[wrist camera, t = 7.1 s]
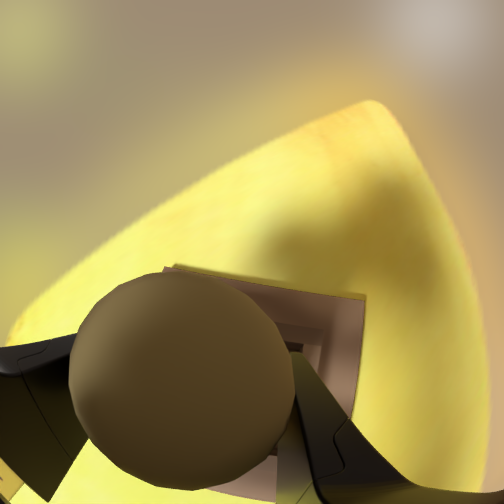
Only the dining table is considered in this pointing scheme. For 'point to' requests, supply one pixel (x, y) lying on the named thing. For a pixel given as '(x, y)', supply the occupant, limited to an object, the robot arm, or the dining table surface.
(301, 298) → the holder board
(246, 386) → the cork
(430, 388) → the dining table surface
